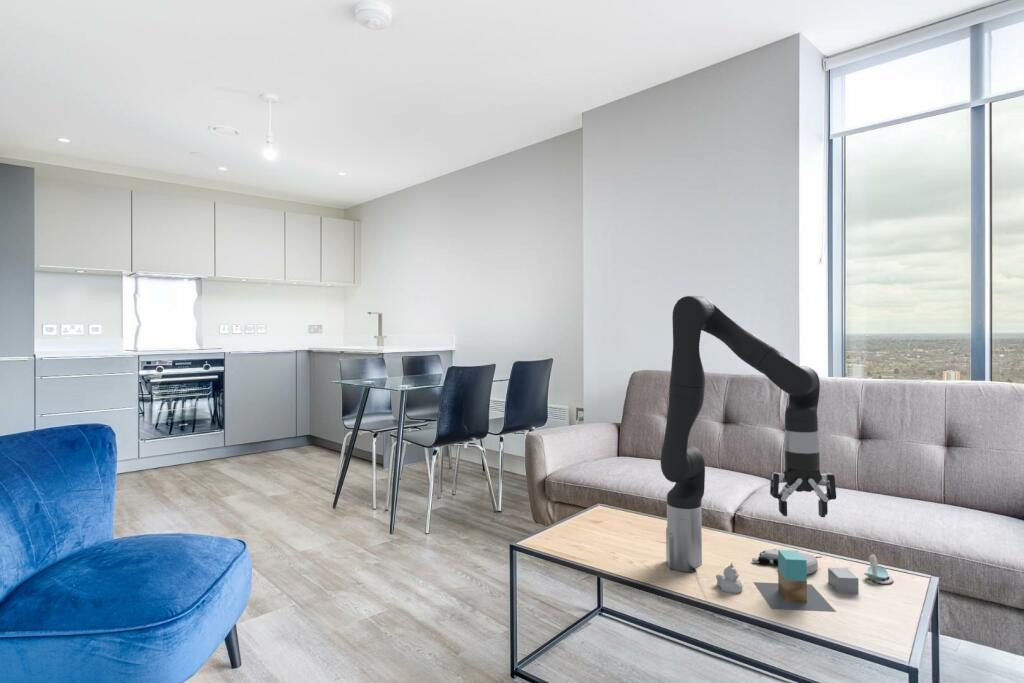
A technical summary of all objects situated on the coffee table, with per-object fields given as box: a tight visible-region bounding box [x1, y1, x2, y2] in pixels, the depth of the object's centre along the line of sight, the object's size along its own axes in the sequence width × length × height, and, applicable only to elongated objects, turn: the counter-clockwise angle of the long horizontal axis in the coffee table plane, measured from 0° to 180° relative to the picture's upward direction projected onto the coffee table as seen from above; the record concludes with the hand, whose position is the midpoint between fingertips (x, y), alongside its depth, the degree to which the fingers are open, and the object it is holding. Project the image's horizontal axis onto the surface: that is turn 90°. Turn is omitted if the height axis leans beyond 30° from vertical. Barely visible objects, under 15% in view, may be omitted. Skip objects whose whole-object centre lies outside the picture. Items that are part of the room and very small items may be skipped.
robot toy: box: [751, 548, 823, 575], centre depth 154 cm, size 12×4×15 cm
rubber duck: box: [715, 562, 743, 594], centre depth 140 cm, size 5×7×8 cm
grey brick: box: [827, 567, 860, 595], centre depth 140 cm, size 4×6×5 cm
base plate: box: [753, 581, 837, 613], centre depth 136 cm, size 14×14×1 cm
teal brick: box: [777, 549, 808, 582], centre depth 136 cm, size 4×6×5 cm
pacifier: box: [863, 554, 894, 585], centre depth 147 cm, size 7×6×6 cm
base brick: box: [777, 569, 808, 602], centre depth 136 cm, size 4×6×5 cm
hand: (803, 515), depth 136 cm, fingers open, 8 cm apart
